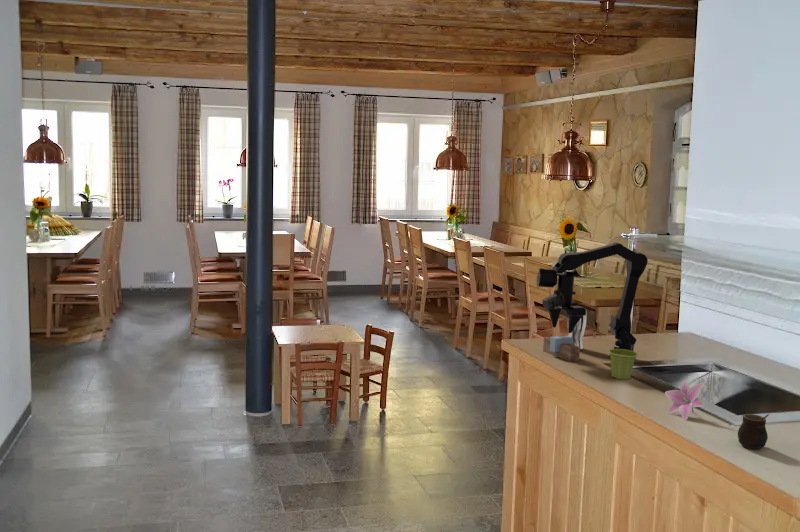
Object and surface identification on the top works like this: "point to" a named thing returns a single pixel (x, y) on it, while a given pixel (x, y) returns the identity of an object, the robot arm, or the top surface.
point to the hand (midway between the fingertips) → (561, 330)
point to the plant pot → (622, 363)
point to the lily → (685, 399)
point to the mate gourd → (753, 431)
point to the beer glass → (579, 332)
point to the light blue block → (559, 342)
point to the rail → (563, 351)
